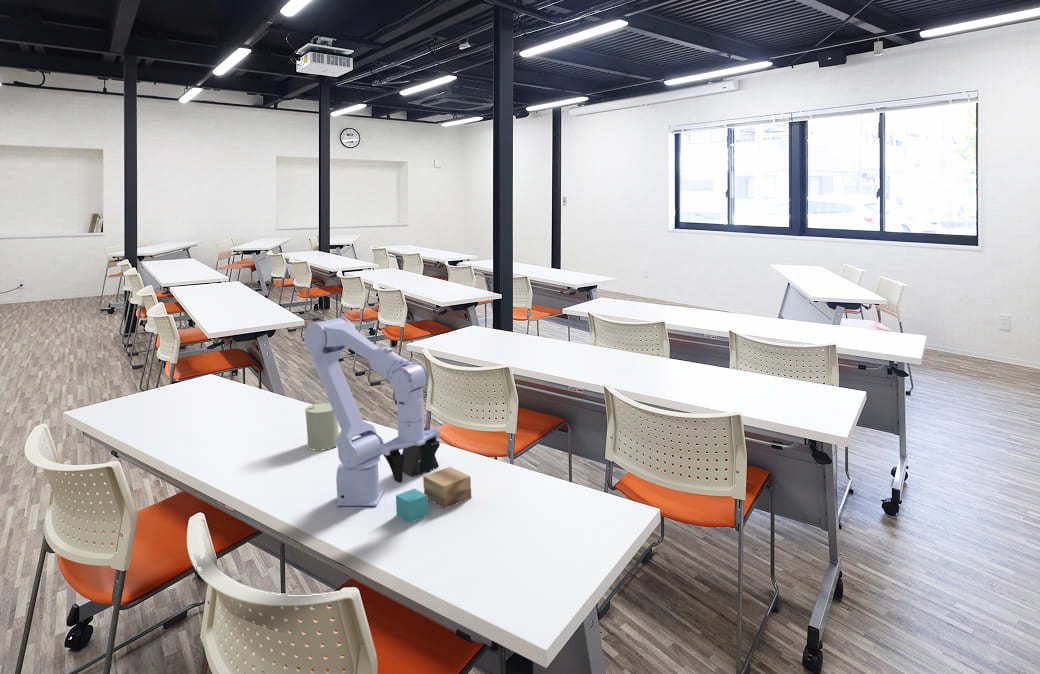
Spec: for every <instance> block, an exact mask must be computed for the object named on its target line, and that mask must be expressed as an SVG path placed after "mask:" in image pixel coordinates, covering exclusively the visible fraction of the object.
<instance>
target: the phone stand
mask: <svg viewBox="0 0 1040 674" xmlns="http://www.w3.org/2000/svg"><path fill="white" fill-rule="evenodd" d="M425 430H428V428H425V427H424V431H425ZM401 454H402V455H404V456H405V458H404V462H403V472H404V473H403V474H405V473H406V475H407V474H408V476H410V477H412V476H413V477H416V476H419V475H422V474H424V473H426V472H425V471H423V470H422V463H421V452H420V447H419V446H417V445H414V446H410V447H407V448H404V449H402V452H401ZM439 466H440V465H439V463H438V460H437V458H436V454H435V455H434V458H433V461H432V465H431V469H433V468H435V469H437V468H436V467H438V468H439ZM433 470H434V469H433ZM423 472H424V473H423ZM421 473H422V474H421ZM418 474H419V475H418ZM415 475H416V476H415Z"/></svg>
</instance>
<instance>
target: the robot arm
mask: <svg viewBox="0 0 1040 674" xmlns="http://www.w3.org/2000/svg"><path fill="white" fill-rule="evenodd" d="M303 335H304V336H303V341H304V343H305V346H306V348H307V350H308V353H309V356H310V357H311V360H312V362H313V365H314V368H315V370H316V373H317V375H318V378H319V380H320V382H321V385H322V387H323V390H324V391H325V395H326V397H327V400H328V403H330V404H331V406H332V409H333V411H334V414H335V416H336V418H337V421H338V427H340V431H339V436H338V438H337V439H336V445H337V447H336V448H337V452H338V453H337V455H338V459H339V462H340V464H338V467H337V470H336V476H335V477H336V479H335V480H336V496H337V503H336V506H337V507H338V506H339V507H348V506H349V507H351V506H352V507H376V506H378V504H379V503H380V500H381V499H382V497H383V495H384V492H385V489H380V480H379V462H380V461H381V456H382V455H383V457H384V458H385V460H386V462H387V463H388V466H389V467H390V469H391V473H392V476H393V480H394V481H395V482H396V483H399V484H401V483H403V479H404V475H403V474H404V473H403V462H404V458H405V456H404V455H402V452H401V451H400V450H403V449H404V448H407V447H410V446H414V445H417V446H419V447H420V452H421V463H422V470H423V471H425V472H424V473H428V474H430V473H431V471H432V470H431V465H432V461H433V458H434V455H435V456H436V453H437V451H438V449H439V448H440V446H441V445H440V441H438V440H439V439H440V438H441V430H440V429H438V428H431V429H427V430H425V431H424V428H425V419H424V417H425V416H424V414H425V413H424V411H425V409H424V387H425V386H426V385H427V383H428V380H429V374H428V370H427V369H426V367H425V366H424V365H423V364H422V363H421V362H419V361H414V362H411V361H409V360H408V359H406V358H404V357H402V356H401V355H399V354H397V353H396V352H395V351H393V348H392V347H390V346H380V347H378V346H377V345H376V344H374V343H373V342H372V341H370V340H369V339H368V338H367V337H366V336H365V335H363V334H362V333H361V332H360V331H358V330H357V329H356V327H355V323H354V322H352V321H350V320H349V319H347V318H346V317H343V316H341V317H340V316H339V317H337V318H332V319H329V320H328V319H327V320H323V321H317V322H315V321H314V322H310V323H309V324H308V325H307V326H306V328H305V331H304V334H303ZM346 348H348V349H349V350H351V351H353V352H354V353H356V354H357V355H360V356H361V357H362V358H364V359H366V360H368V361H369V366H370V368H371V369H372V370H374V371H375V372H376V373H378V374H379V375H381V376H382V377H383V378H385V379H386V380H388V381H389V383H390V386H391V388H392V390H393V393H394V399H395V401H396V414H397V418H396V419H397V436H396V437H394V438H393V439H391V440H389V441H387V442H384V439H383V437H382V436H381V434H380V433H378V431H377V429H376V428H375V426H374V424H371V423H369V422H368V421H364V419H363V417H362V415H361V412H360V410H359V407H358V405H357V403H356V401H355V398H354V395H353V393H352V391H351V388H350V387H349V383H348V381H347V379H346V377H345V374H344V372H343V369H342V367H341V364H340V362H339V360H340V357H341V355H342V354H344V353H343V352H344V351H345V350H346ZM355 437H356V438H355ZM353 438H354V439H353Z"/></svg>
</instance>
